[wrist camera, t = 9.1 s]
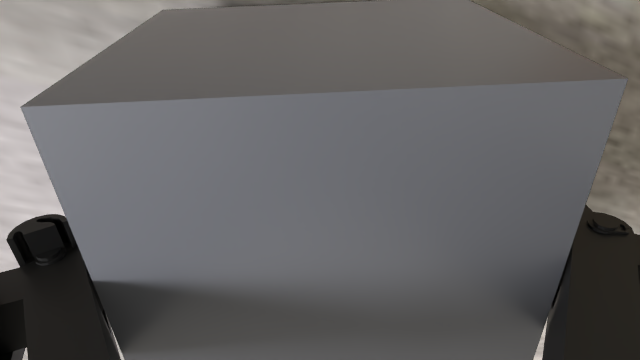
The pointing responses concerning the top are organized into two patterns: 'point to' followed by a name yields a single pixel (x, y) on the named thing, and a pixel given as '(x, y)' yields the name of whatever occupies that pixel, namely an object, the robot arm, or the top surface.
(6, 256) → the top surface
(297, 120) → the grey cubic block
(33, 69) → the top surface
